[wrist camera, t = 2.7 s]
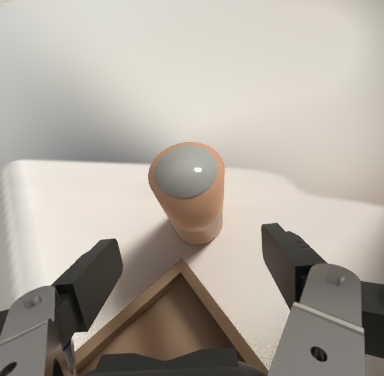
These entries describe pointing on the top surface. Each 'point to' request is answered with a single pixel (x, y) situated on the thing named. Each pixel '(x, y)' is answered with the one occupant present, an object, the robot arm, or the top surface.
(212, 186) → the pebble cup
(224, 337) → the walnut tray
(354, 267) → the top surface
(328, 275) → the robot arm
